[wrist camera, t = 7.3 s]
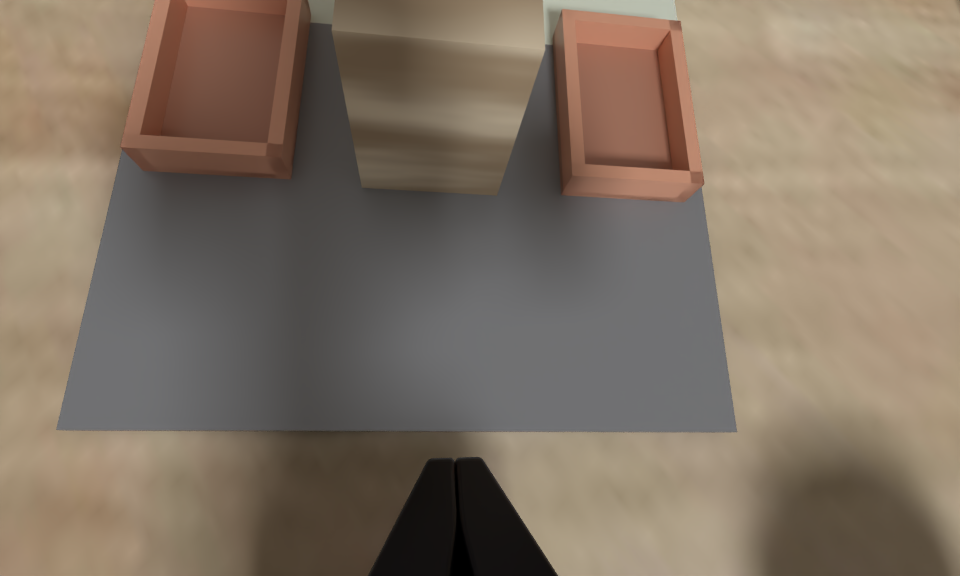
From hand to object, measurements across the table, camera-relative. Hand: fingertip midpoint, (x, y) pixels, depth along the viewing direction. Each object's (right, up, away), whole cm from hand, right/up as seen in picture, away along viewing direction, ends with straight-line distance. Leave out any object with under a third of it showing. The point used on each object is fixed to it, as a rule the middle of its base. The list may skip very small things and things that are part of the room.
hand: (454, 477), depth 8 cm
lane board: (-2, +12, +17) cm, 21 cm away
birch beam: (-2, +15, +17) cm, 23 cm away
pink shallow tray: (+7, +11, +17) cm, 22 cm away
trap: (-11, +12, +15) cm, 22 cm away
